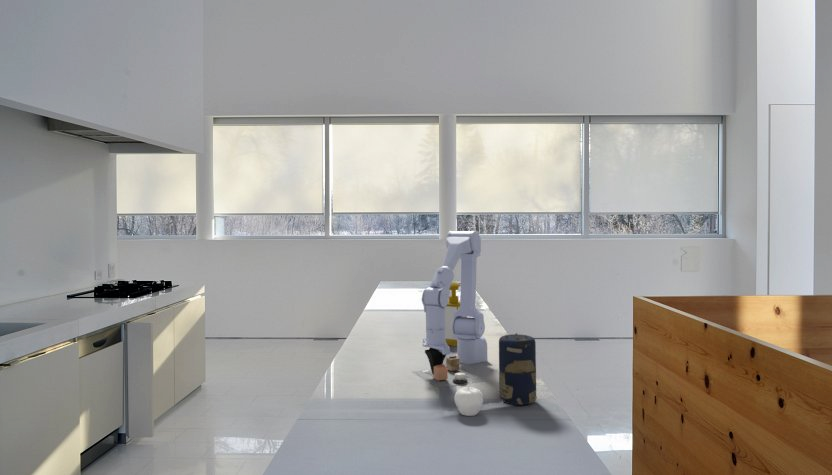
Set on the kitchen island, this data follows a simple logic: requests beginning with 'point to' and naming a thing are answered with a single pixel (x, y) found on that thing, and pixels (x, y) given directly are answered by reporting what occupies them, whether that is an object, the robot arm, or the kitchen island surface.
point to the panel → (451, 378)
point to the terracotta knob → (440, 372)
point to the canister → (517, 369)
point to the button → (459, 376)
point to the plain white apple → (469, 400)
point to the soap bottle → (451, 314)
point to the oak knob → (452, 363)
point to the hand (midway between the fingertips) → (436, 373)
